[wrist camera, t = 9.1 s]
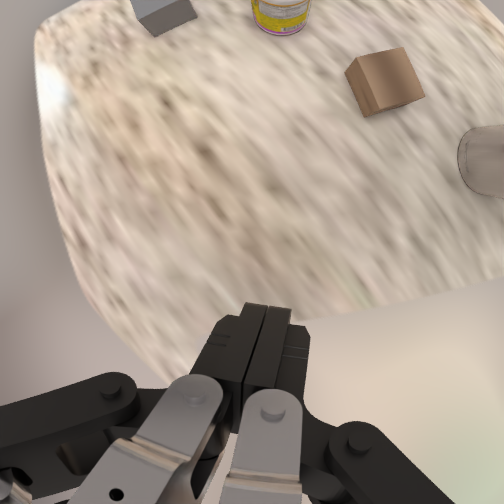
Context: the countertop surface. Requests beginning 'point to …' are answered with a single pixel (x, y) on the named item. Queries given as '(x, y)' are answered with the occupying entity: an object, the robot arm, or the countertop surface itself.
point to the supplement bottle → (281, 15)
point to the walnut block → (383, 81)
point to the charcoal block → (162, 14)
